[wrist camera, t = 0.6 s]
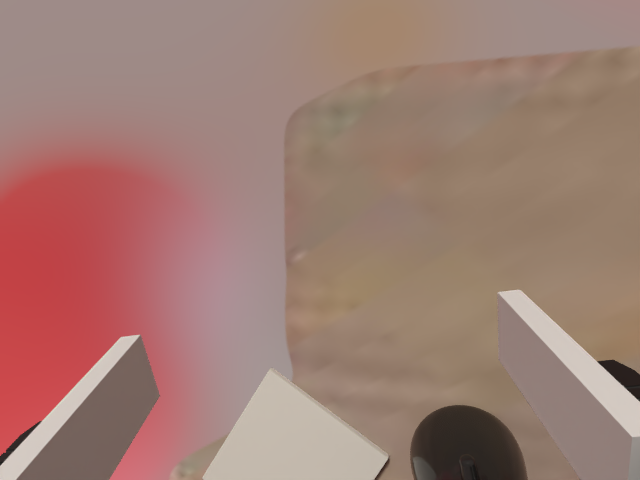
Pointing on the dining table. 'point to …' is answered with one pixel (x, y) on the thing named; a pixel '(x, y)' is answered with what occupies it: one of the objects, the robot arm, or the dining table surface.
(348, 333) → the dining table surface
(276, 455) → the ceramic tile
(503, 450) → the pump dispenser
